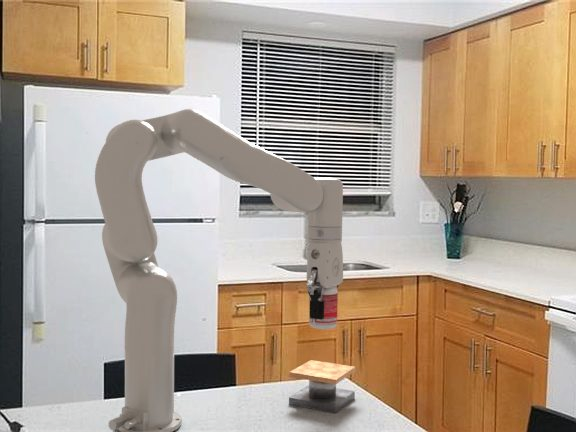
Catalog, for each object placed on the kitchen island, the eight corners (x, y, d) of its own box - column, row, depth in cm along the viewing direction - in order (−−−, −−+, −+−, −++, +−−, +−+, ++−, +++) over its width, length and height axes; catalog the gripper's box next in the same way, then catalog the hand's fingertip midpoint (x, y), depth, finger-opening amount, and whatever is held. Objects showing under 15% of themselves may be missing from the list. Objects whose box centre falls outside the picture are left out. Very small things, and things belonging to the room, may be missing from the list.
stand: (335, 413, 140) (336, 379, 139) (288, 404, 145) (289, 372, 144) (354, 398, 149) (355, 366, 149) (310, 390, 154) (310, 360, 154)
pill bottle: (342, 327, 146) (343, 277, 145) (323, 331, 142) (324, 280, 141) (322, 322, 150) (323, 274, 150) (303, 326, 146) (304, 276, 145)
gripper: (324, 238, 135) (322, 325, 136) (355, 232, 151) (353, 310, 152) (291, 236, 139) (290, 321, 140) (325, 231, 154) (323, 307, 155)
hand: (323, 315), depth 146 cm, fingers closed on pill bottle, 6 cm apart
